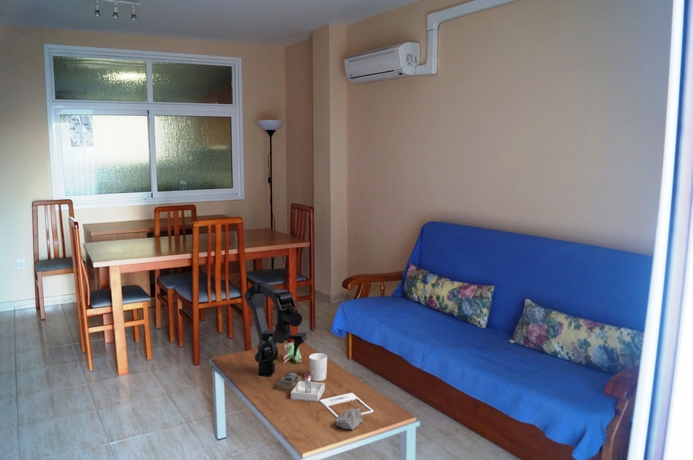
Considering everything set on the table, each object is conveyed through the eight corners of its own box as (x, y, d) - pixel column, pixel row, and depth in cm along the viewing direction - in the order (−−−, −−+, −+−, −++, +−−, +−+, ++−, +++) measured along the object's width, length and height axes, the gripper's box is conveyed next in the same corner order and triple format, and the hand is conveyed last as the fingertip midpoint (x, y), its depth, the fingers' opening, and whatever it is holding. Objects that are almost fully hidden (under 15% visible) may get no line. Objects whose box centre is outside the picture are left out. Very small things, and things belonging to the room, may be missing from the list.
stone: (332, 426, 206) (332, 411, 205) (350, 417, 213) (350, 402, 212) (348, 433, 200) (348, 418, 200) (366, 424, 207) (366, 409, 207)
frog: (281, 355, 259) (300, 357, 259) (284, 336, 266) (304, 338, 266) (281, 367, 268) (300, 369, 268) (285, 349, 275) (303, 351, 275)
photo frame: (352, 392, 232) (373, 410, 216) (352, 394, 232) (373, 413, 217) (319, 399, 226) (339, 418, 210) (319, 402, 226) (339, 421, 210)
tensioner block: (284, 379, 247) (284, 370, 246) (301, 381, 245) (301, 372, 244) (276, 389, 237) (276, 380, 236) (294, 391, 235) (294, 382, 234)
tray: (291, 399, 227) (290, 392, 227) (299, 387, 238) (299, 381, 238) (317, 401, 225) (317, 394, 225) (324, 390, 236) (324, 383, 235)
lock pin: (303, 394, 230) (303, 376, 229) (305, 391, 233) (305, 373, 232) (310, 395, 230) (310, 377, 228) (312, 392, 233) (312, 373, 232)
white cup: (328, 374, 252) (328, 353, 250) (326, 382, 244) (325, 360, 242) (311, 374, 252) (310, 352, 251) (308, 381, 245) (307, 359, 243)
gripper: (255, 325, 231) (256, 361, 233) (298, 328, 227) (299, 364, 229) (265, 317, 242) (265, 351, 244) (306, 319, 238) (307, 355, 240)
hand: (284, 356), depth 239 cm, fingers open, 9 cm apart
